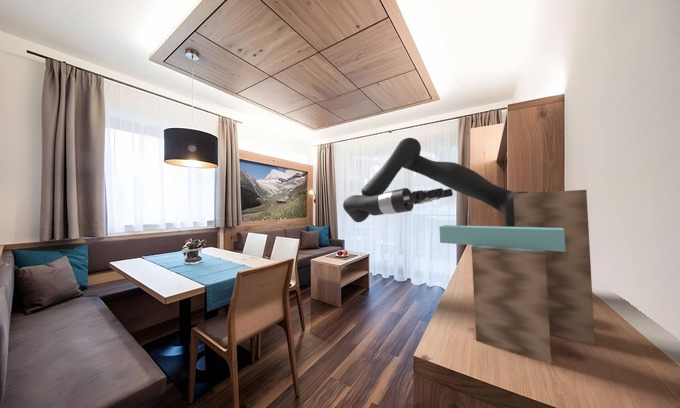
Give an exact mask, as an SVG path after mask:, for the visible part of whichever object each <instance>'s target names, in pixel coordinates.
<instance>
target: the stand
mask: <svg viewBox="0 0 680 408" xmlns="http://www.w3.org/2000/svg"><path fill="white" fill-rule="evenodd" d="M587 193H588V191H587V189H579V190H578V189H575V190H558V191H555V190H554V191H540V192H529V193H519V194H513V201H514V221H515V227H543V228H563V229H564V234H565V252H560V251H547V250H545V255H546V274H547V293H548V312H549V331H550V336H555V337H559V338H563V339H566V340H571V341H575V342H577V343H582V344H587V345H590V346H593V347H596V336H595V322H594V321H595V319H594V318H595V317H594V303H593V302H594V299H593V285H592V283H593V281H592V267H591V251H590V250H591V249H590V247H591V246H590V231H589V230H590V229H589V211H588V195H587Z"/></svg>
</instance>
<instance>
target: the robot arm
mask: <svg viewBox="0 0 680 408" xmlns="http://www.w3.org/2000/svg"><path fill="white" fill-rule="evenodd" d="M393 150H394V151H393V152H392V153H391V155H390V156H389V158H388V159H387V160H386V161H385V162H384V164H383V166H382V167H381V168H380V169H379V170H378V171H377V172H376V174H375V175H374V176H372V178H371V179H370V180H369V181H368V182H367V183H366V184H365V185H364V186H363V188H361V194H355V195H354V194H353V195H350V196H348V197H347V198H345V200H344V201H343V203H342V207H343V209H344V212H346V214H347V215H349V217H350V218H351V219H352V221H354V222H356V223H362V222H364V221H366V220H367V219H368V217H369V216H373V217H374V216H381V215H383V216H384V215H393V214H400V213H401V214H402V213H407V212H411V211H413V209H414V205H421V204H424V203H431V202H433V201H435V200H440V199H442V198H443V199H444V198H449V197H452V196H453V195H454V194H453V191H455V192H457V193H460V194H462V195H464V196H467V197H469V198H473V199H474V200H478V201H481V202H483V203H484V204H486V205H488V206H490V207H491V208H493V209H495V210H496V211H498V212H499V213H501V214H503V215H504V216H505V226H504V227H515V221H514V201H513V194H519V193H530V192H528V191H512V190H509V189H506V188H503V187H501V186H498V185H496V184H494V183H492V182H490V181H489V180H488V179H487V178H485V177H484V176H482V175H481V174H479V173H478V172H476V170H475V171H474V170H472V169H471V168H469V167H466V166H464V165H462V164H459V163H457V162H453V161H436V160H432V159H428V158H427V157H425V156H422V155H421V150H422V145H421V143H420V142H419V140H418V139H416V138H414V137H406V138H404V139H402V140H401V141H400V142H399V143H397V145H396V147H395V148H394V149H393ZM402 168H404V169H406V170H408V171H411V172H414V173H417V174H419V175H421V176H424V177H427V178H428V179H431V180H433V181H434V182H437V183H440V184H441V185H443V186H445V187H447V189H444V188H443V187H440V188H439V187H438V188H435V189H430V190H428V189H427V190H426V189H423V190H421V189H420V190H415V191H414V190H413V191H411V190H410V189H409V188H408V187H404V188H398V189H394V190H391V191H387V189H388V188H389V187H390V185H391V184H392V182H393V181H394V179H395V178H396V176H397V175H398V173H399V172H400V171H401V169H402Z"/></svg>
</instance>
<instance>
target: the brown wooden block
mask: <svg viewBox="0 0 680 408" xmlns="http://www.w3.org/2000/svg"><path fill="white" fill-rule="evenodd" d="M471 261H472V262H471V263H472V265H471V267H472V284H473V303H474V304H473V305H474V306H473V307H474V308H473V309H474V321H475V322H474V324H475V327H474V328H475V341H476V342H480V343H483V344H486V345H489V346H492V347H495V348H498V349H502V350H504V351H507V352H511V353H514V354H517V355H520V356H524V357H525V358H526V357H527V358H530V359H533V360H535V361H539V362H542V363H545V364H547V365H548V364H549V365H552V357H551V356H552V355H551V353H552V352H551V351H552V349H551V335H550V331H549V312H548V293H547V274H546V255H545V250H533V249H519V248H506V247H492V246H478V245H471Z"/></svg>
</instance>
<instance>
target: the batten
mask: <svg viewBox="0 0 680 408" xmlns="http://www.w3.org/2000/svg"><path fill="white" fill-rule="evenodd" d="M440 243H441V244H451V245H452V244H455V245H466V246H473V245H478V246H492V247H506V248H519V249H533V250H547V251H560V252H565V234H564V229H563V228H543V227H505V226H497V225H496V226H494V225H490V226H489V225H488V226H487V225H457V224H456V225H450V224H449V225H448V224H447V225H446V224H445V225H439V244H440Z"/></svg>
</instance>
